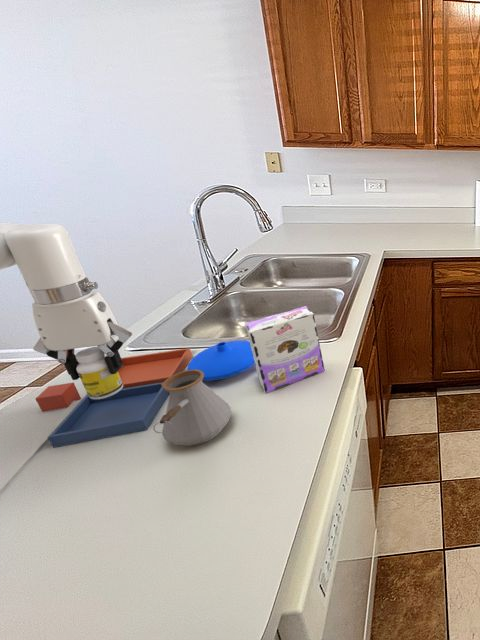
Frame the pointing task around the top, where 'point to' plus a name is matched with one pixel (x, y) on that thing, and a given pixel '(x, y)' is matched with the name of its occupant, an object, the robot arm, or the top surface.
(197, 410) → the coffee pot
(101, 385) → the supplement bottle
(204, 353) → the blue pot lid
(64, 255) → the robot arm
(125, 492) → the top surface
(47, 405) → the rust block
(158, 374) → the rust tray
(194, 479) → the top surface
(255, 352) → the candy box
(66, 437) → the blue tray
